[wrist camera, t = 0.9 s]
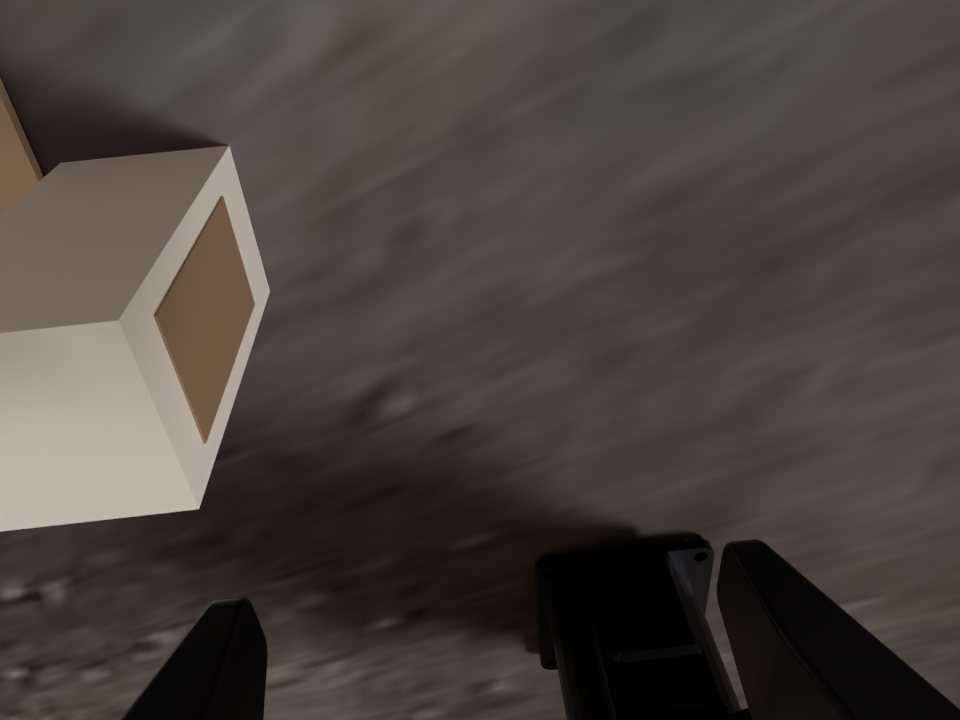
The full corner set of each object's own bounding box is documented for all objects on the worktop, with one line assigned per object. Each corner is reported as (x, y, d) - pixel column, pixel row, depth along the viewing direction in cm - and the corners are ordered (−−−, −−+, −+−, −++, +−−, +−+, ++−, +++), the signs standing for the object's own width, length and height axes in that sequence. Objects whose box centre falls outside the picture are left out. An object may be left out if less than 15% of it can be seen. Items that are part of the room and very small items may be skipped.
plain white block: (271, 291, 20) (201, 509, 13) (121, 307, 20) (-26, 534, 13) (231, 145, 17) (121, 320, 11) (60, 162, 17) (-155, 349, 11)
